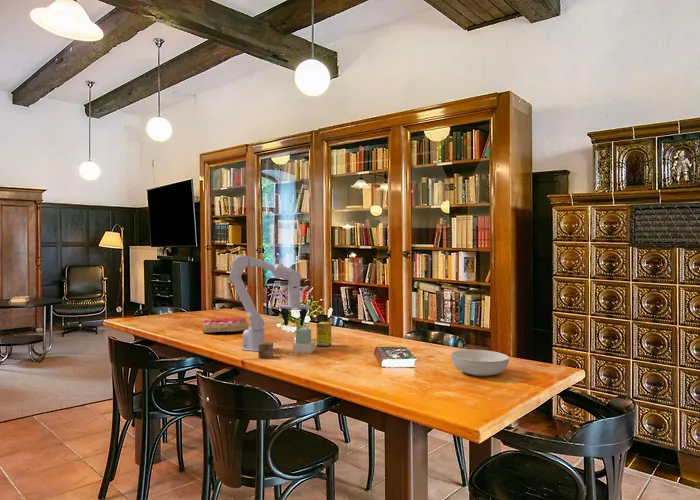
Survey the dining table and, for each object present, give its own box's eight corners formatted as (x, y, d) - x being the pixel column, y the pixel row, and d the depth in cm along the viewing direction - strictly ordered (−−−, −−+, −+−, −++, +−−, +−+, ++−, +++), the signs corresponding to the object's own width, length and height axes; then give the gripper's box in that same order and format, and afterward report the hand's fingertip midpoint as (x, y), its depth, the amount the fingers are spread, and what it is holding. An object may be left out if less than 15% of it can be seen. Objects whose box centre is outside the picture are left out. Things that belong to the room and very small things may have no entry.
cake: (234, 334, 263) (234, 319, 264) (192, 334, 270) (192, 319, 270) (255, 329, 287) (255, 315, 287) (216, 330, 293) (216, 316, 294)
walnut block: (258, 358, 210) (258, 344, 210) (261, 356, 215) (261, 342, 215) (270, 358, 210) (270, 344, 210) (273, 356, 215) (273, 342, 215)
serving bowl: (500, 383, 171) (500, 363, 171) (442, 375, 182) (442, 356, 182) (515, 371, 189) (515, 352, 189) (461, 364, 200) (461, 347, 200)
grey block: (293, 353, 222) (293, 344, 222) (298, 349, 230) (298, 341, 230) (310, 354, 221) (310, 344, 221) (315, 350, 229) (315, 341, 229)
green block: (296, 343, 224) (295, 330, 224) (301, 341, 228) (301, 328, 228) (306, 344, 222) (306, 330, 222) (311, 342, 226) (311, 329, 226)
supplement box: (328, 347, 234) (328, 323, 234) (316, 346, 235) (316, 323, 235) (331, 344, 240) (331, 322, 240) (319, 344, 241) (319, 321, 241)
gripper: (276, 296, 231) (276, 325, 231) (305, 297, 228) (305, 327, 228) (282, 295, 238) (282, 323, 238) (311, 295, 234) (311, 324, 234)
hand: (294, 325), depth 233 cm, fingers open, 7 cm apart
